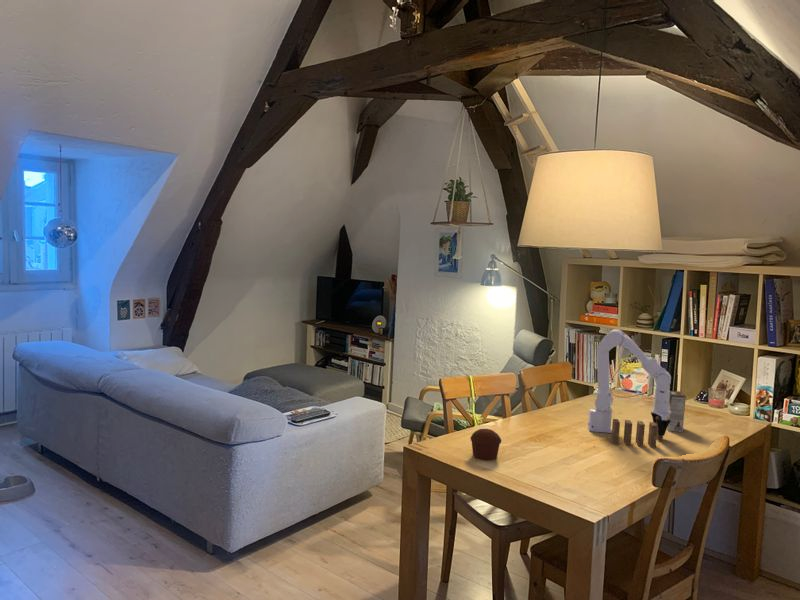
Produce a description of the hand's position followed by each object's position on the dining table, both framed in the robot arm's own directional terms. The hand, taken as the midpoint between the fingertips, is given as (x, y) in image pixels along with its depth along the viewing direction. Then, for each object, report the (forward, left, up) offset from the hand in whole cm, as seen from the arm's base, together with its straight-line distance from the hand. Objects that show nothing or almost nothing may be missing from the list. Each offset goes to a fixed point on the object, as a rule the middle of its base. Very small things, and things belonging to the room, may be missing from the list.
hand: (659, 432), depth 265 cm
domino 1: (-19, -10, -3) cm, 22 cm away
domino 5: (0, 0, -3) cm, 3 cm away
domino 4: (-5, -10, -3) cm, 11 cm away
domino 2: (-14, -10, -3) cm, 18 cm away
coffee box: (+10, +18, -3) cm, 21 cm away
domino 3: (-10, -10, -3) cm, 14 cm away
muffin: (-70, -42, -3) cm, 82 cm away
